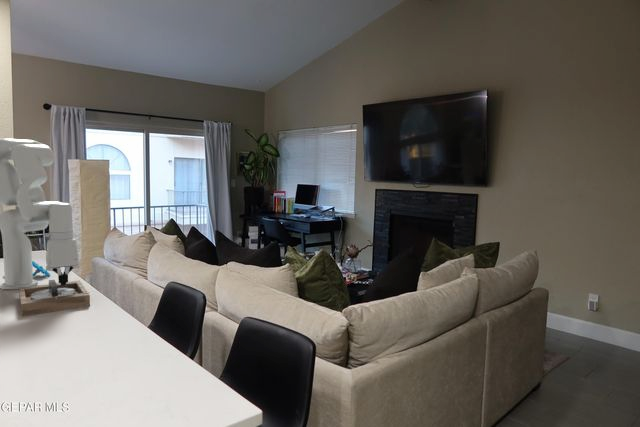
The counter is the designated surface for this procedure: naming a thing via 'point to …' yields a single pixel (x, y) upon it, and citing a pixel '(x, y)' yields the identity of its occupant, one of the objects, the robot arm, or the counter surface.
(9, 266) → the robot arm
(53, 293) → the dial
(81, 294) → the dial panel
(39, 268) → the gear
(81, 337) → the counter surface
